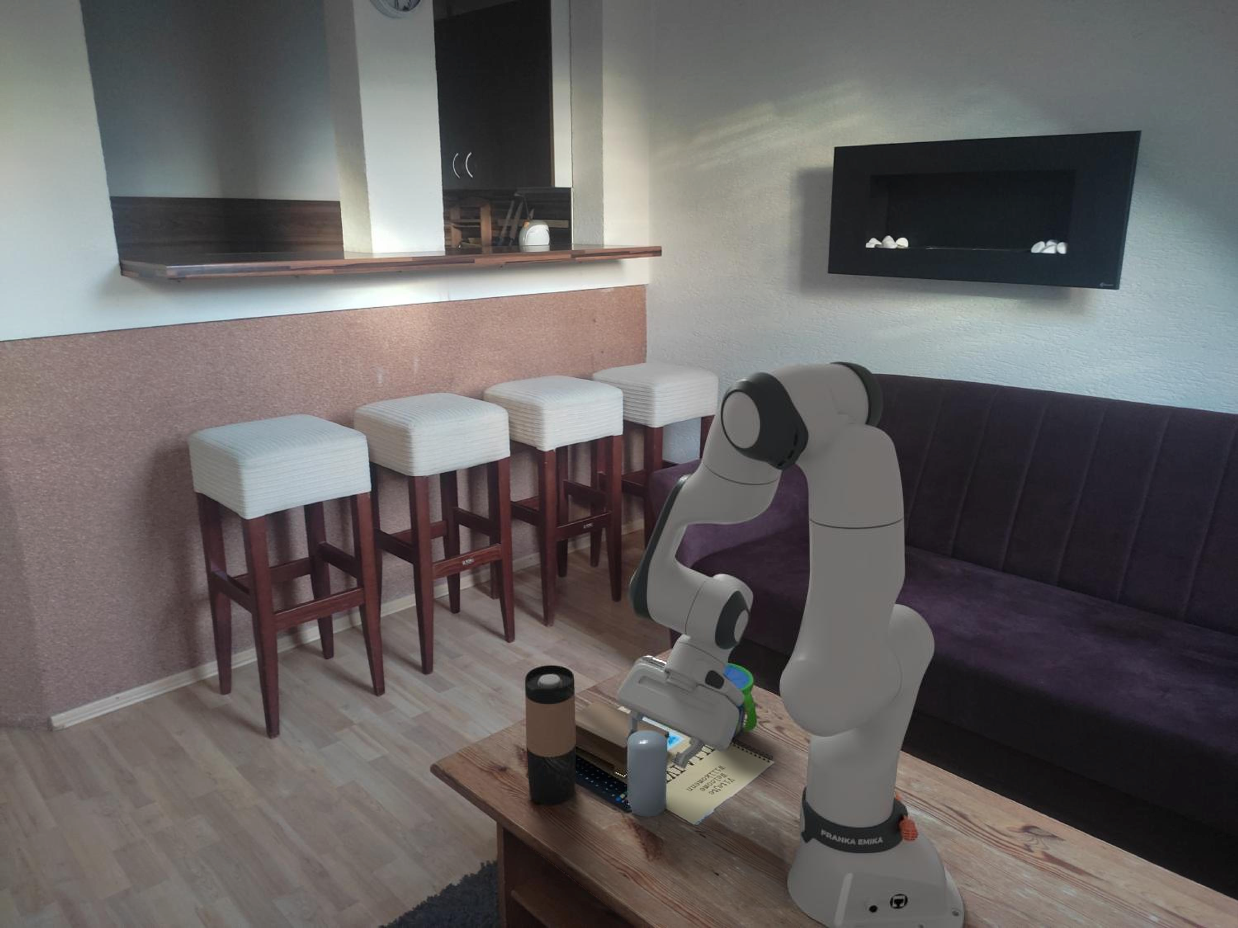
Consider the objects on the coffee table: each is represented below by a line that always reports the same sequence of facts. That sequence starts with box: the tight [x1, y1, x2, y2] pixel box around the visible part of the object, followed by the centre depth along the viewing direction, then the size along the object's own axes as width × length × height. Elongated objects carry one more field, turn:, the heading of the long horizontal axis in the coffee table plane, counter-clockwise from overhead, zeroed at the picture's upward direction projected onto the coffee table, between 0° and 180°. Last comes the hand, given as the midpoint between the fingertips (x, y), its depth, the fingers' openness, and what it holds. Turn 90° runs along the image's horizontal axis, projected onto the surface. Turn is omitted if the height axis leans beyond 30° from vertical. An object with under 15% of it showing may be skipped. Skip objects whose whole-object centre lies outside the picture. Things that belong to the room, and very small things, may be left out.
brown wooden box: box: [575, 699, 670, 776], centre depth 152 cm, size 12×16×6 cm
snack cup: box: [723, 662, 758, 738], centre depth 156 cm, size 16×10×10 cm
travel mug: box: [524, 664, 577, 806], centre depth 138 cm, size 8×8×20 cm
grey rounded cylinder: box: [626, 730, 668, 818], centre depth 136 cm, size 6×6×11 cm
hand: (653, 753), depth 137 cm, fingers open, 8 cm apart
